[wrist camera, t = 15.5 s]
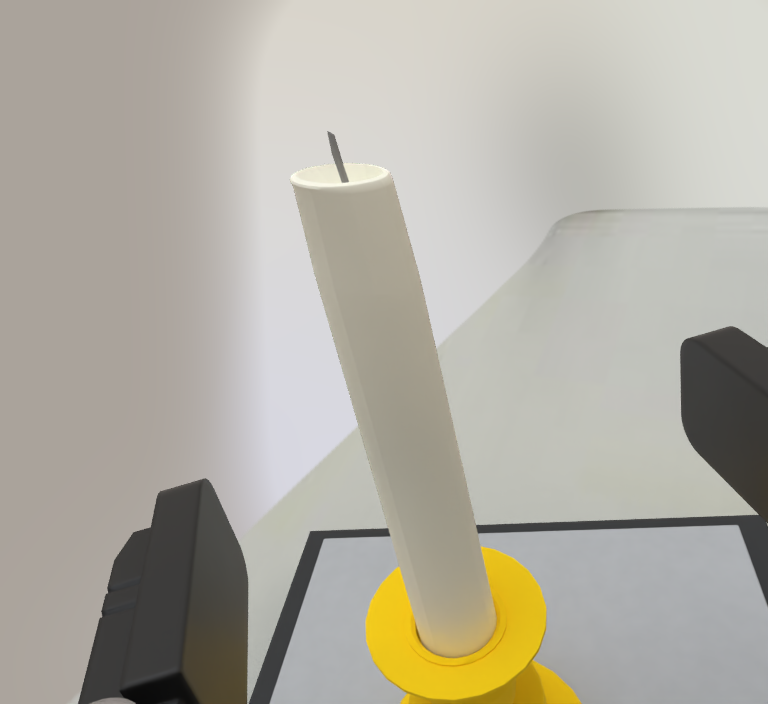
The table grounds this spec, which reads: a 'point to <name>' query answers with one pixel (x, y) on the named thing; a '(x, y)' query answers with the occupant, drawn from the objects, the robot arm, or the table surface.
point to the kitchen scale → (557, 611)
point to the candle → (417, 462)
